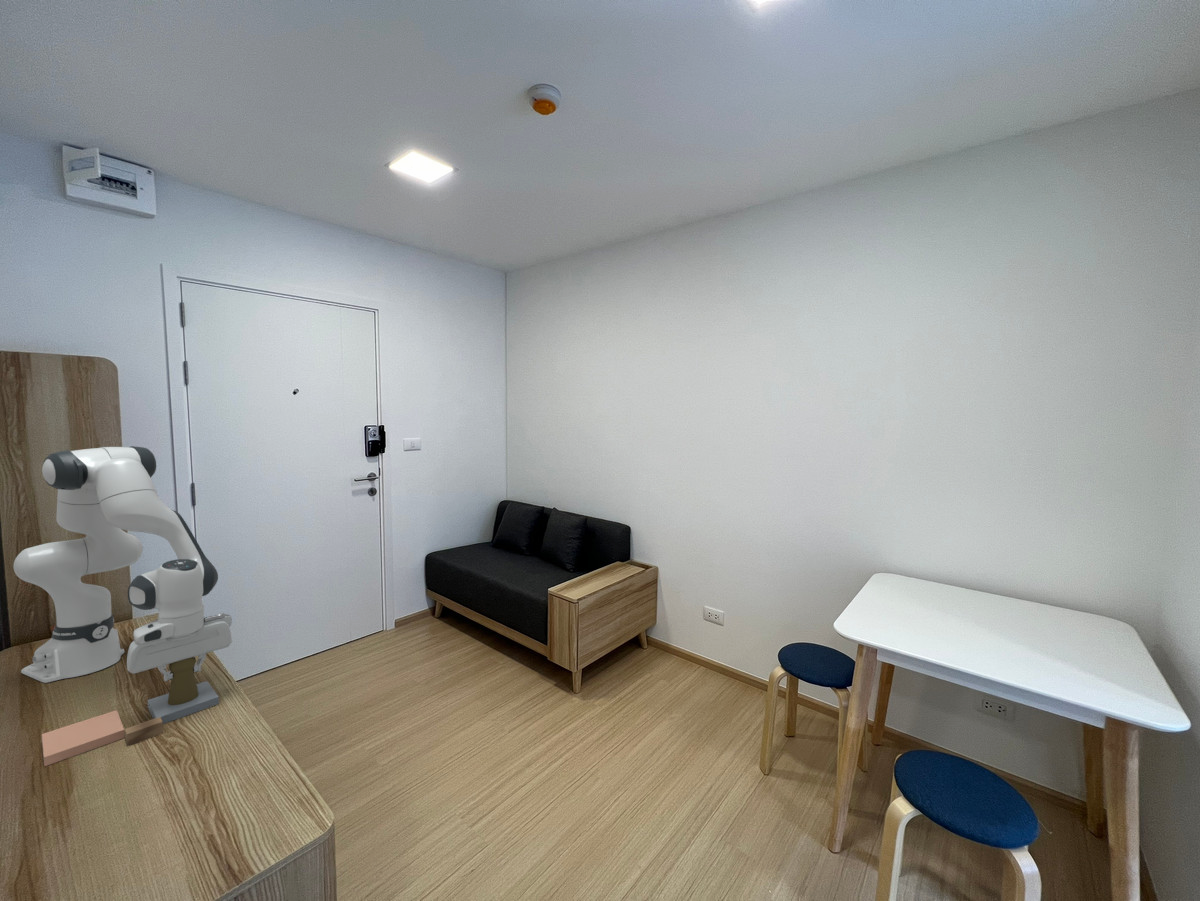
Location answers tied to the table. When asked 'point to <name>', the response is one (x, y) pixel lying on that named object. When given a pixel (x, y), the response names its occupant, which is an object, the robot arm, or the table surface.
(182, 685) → the olive rounded tall piece
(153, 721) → the walnut brick
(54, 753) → the terracotta tile
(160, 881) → the table surface
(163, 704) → the steel tile
